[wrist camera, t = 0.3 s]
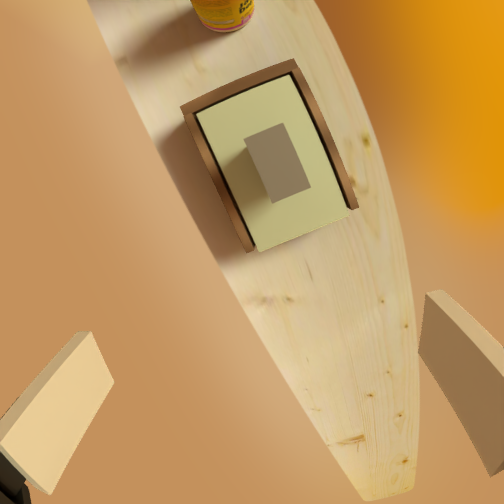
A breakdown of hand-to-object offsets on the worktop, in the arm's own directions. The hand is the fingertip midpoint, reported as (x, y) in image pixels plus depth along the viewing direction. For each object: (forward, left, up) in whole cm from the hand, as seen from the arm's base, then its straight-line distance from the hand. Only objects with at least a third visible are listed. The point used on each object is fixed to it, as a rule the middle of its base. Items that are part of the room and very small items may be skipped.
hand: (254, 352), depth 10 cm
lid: (-6, +1, -21) cm, 22 cm away
